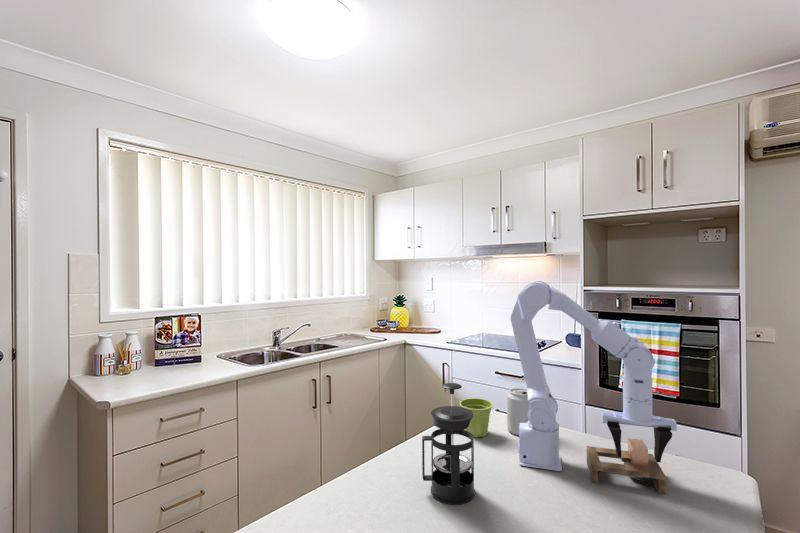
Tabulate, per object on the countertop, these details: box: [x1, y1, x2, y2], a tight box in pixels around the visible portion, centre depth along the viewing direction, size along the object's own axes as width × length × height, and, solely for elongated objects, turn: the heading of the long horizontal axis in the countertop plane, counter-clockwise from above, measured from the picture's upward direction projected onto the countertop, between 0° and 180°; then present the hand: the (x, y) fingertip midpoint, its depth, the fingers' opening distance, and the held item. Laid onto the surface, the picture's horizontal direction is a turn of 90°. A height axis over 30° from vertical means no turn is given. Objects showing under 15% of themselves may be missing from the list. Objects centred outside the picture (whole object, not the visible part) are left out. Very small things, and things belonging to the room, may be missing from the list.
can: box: [506, 387, 529, 437], centre depth 117 cm, size 8×8×12 cm
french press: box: [421, 382, 476, 506], centre depth 86 cm, size 12×9×23 cm
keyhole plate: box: [586, 445, 666, 495], centre depth 92 cm, size 14×10×4 cm
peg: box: [627, 438, 649, 481], centre depth 91 cm, size 4×5×7 cm
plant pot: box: [459, 397, 494, 438], centre depth 116 cm, size 9×9×9 cm
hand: (637, 457), depth 91 cm, fingers open, 7 cm apart
